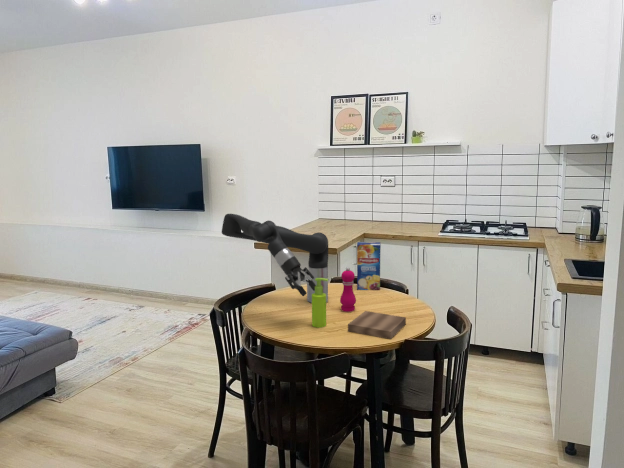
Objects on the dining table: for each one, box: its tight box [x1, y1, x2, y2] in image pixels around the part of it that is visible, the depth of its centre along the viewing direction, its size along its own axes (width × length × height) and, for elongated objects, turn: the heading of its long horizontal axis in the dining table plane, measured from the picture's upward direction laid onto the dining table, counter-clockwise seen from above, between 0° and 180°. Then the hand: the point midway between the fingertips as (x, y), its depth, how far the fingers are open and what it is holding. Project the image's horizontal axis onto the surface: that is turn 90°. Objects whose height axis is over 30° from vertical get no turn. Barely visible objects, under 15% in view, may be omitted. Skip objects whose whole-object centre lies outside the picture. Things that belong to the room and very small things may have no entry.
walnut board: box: [347, 310, 407, 340], centre depth 190 cm, size 18×18×3 cm
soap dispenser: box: [311, 278, 329, 329], centre depth 192 cm, size 6×7×20 cm
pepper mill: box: [339, 266, 357, 313], centre depth 211 cm, size 7×7×20 cm
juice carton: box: [356, 241, 382, 291], centre depth 245 cm, size 12×8×24 cm, turn 83°
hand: (310, 292), depth 191 cm, fingers open, 8 cm apart
